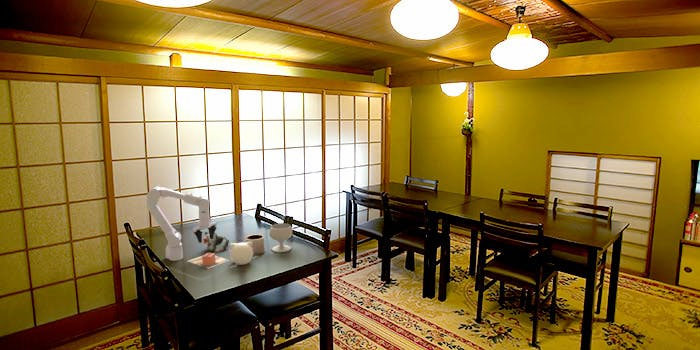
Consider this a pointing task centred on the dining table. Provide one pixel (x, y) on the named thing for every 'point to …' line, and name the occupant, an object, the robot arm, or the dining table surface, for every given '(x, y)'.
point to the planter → (256, 243)
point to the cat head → (241, 253)
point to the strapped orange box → (208, 259)
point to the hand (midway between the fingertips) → (205, 240)
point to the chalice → (280, 236)
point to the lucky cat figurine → (215, 242)
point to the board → (199, 262)
